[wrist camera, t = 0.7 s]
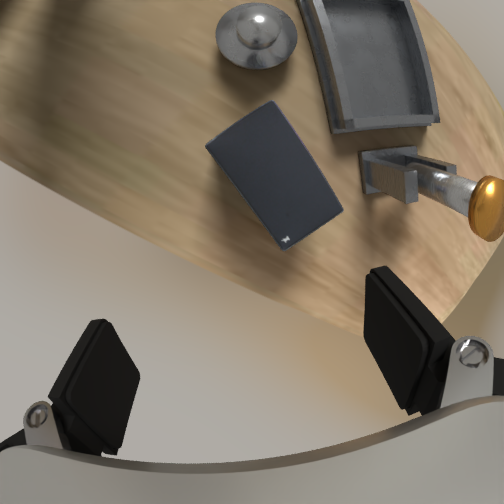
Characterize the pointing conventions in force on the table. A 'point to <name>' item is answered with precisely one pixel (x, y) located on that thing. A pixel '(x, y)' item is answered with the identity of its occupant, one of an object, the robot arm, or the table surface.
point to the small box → (275, 175)
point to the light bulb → (466, 198)
